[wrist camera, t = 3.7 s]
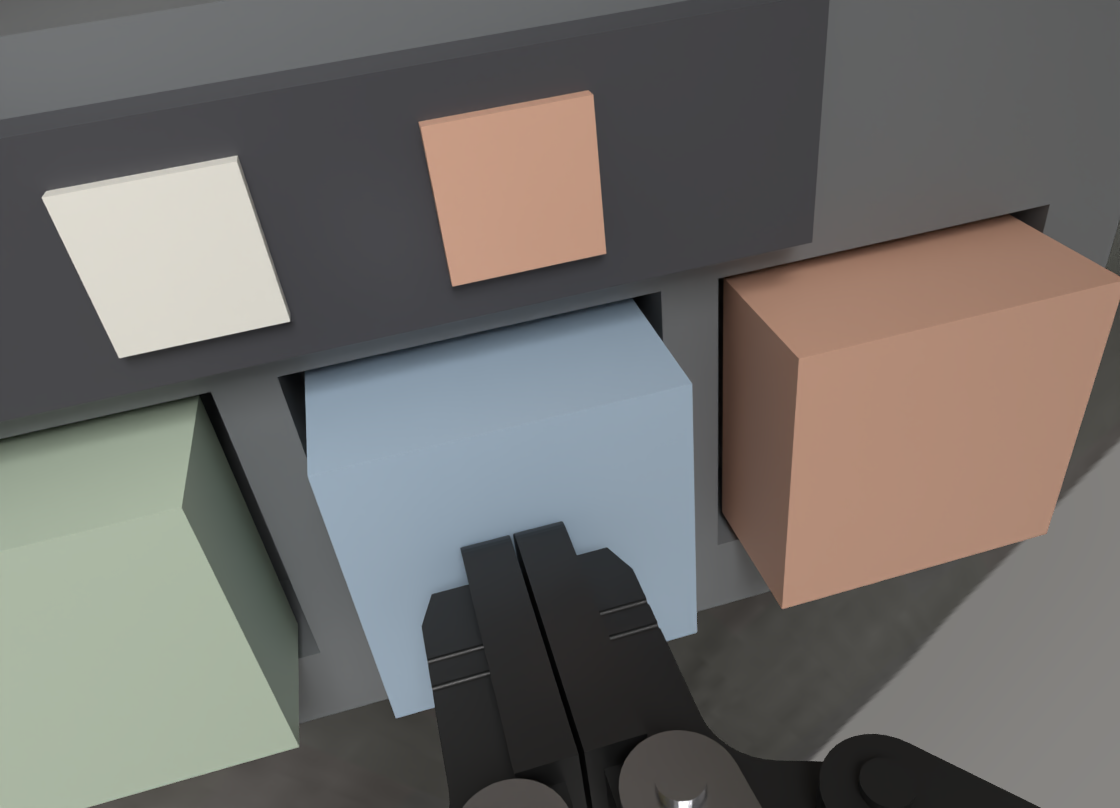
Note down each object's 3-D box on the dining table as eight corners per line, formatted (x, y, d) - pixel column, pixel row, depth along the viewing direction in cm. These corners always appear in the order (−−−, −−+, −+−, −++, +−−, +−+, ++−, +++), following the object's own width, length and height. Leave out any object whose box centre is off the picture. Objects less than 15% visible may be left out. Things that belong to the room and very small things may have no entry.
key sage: (-182, 479, 12) (-279, 618, 10) (199, 394, 12) (181, 507, 10) (-1, 703, 15) (-47, 845, 13) (298, 624, 15) (299, 746, 13)
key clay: (723, 277, 13) (798, 358, 11) (1008, 214, 14) (1126, 279, 12) (722, 512, 16) (782, 608, 14) (958, 449, 17) (1046, 533, 15)
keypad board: (-1172, 179, 10) (-1910, 365, 6) (1065, -167, 14) (1304, -160, 10) (-371, 779, 17) (-529, 1011, 13) (945, 435, 21) (1066, 550, 17)
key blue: (304, 370, 13) (308, 475, 11) (631, 297, 13) (692, 384, 11) (382, 601, 15) (396, 718, 14) (646, 531, 16) (696, 632, 14)
